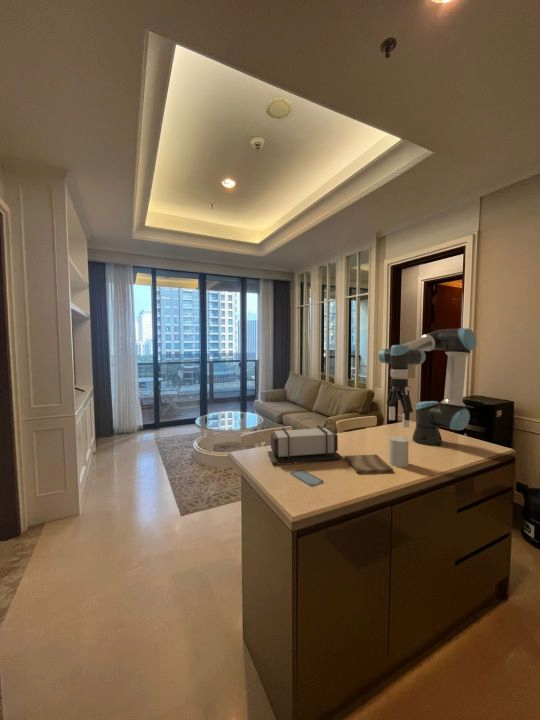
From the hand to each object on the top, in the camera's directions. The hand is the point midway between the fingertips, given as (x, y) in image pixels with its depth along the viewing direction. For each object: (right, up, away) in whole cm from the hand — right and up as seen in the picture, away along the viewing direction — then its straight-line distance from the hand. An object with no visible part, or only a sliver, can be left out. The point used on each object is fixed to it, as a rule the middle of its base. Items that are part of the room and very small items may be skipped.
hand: (398, 423), depth 142 cm
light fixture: (-43, -20, +11) cm, 49 cm away
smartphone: (-45, -21, -13) cm, 51 cm away
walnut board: (-15, -20, 0) cm, 24 cm away
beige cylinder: (0, -20, +1) cm, 20 cm away
